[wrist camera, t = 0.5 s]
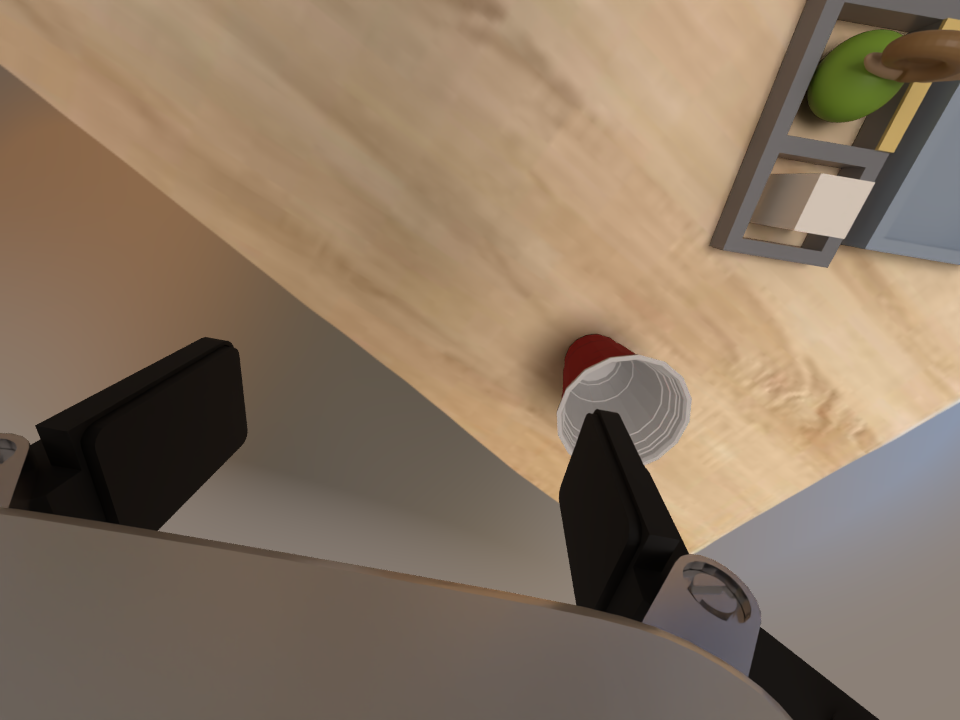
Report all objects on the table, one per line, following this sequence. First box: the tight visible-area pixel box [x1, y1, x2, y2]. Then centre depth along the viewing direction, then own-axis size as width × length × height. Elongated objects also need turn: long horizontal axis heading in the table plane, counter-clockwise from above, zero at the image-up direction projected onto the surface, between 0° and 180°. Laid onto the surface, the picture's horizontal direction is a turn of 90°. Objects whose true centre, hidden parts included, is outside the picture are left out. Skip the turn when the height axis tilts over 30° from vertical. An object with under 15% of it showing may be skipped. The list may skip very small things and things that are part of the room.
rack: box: [709, 0, 960, 268], centre depth 29 cm, size 26×9×3 cm, turn 171°
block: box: [749, 173, 875, 239], centre depth 31 cm, size 4×4×6 cm
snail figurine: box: [807, 29, 960, 123], centre depth 25 cm, size 5×6×12 cm
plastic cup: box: [557, 334, 692, 465], centre depth 36 cm, size 11×11×12 cm
